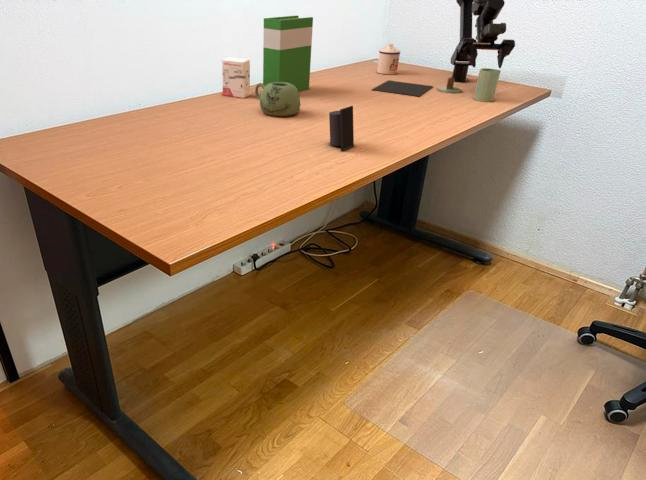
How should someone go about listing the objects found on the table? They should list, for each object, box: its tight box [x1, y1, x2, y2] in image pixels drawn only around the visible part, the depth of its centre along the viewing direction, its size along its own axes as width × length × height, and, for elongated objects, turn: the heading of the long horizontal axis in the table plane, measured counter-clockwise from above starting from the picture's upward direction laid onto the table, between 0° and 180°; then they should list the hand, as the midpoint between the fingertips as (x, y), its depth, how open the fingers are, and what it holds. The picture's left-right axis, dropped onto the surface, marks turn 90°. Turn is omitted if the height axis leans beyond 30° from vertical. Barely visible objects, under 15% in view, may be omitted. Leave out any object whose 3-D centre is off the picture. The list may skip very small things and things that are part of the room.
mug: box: [254, 82, 301, 117], centre depth 156 cm, size 16×13×9 cm
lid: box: [437, 77, 462, 94], centre depth 192 cm, size 9×9×4 cm
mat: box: [371, 80, 433, 98], centre depth 193 cm, size 20×18×1 cm
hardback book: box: [262, 15, 314, 92], centre depth 178 cm, size 18×7×24 cm, turn 140°
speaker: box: [328, 105, 355, 152], centre depth 130 cm, size 8×6×10 cm
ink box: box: [221, 56, 251, 99], centre depth 172 cm, size 9×5×12 cm, turn 68°
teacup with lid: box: [376, 43, 401, 76], centre depth 217 cm, size 12×9×12 cm
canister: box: [473, 67, 502, 103], centre depth 179 cm, size 7×7×10 cm
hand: (487, 67), depth 179 cm, fingers open, 9 cm apart
